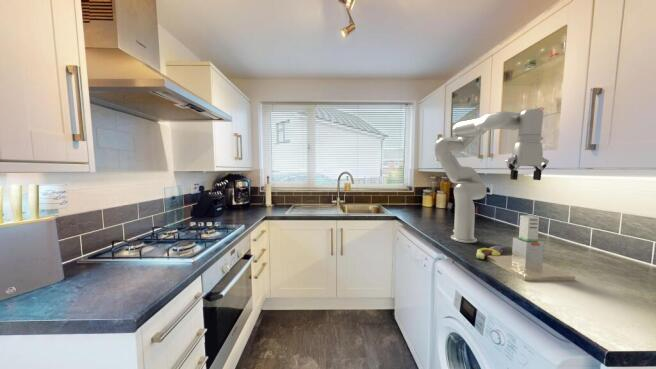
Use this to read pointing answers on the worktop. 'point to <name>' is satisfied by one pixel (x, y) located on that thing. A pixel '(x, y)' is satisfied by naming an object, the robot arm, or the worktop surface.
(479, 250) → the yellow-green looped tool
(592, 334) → the worktop surface
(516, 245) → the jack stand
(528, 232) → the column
